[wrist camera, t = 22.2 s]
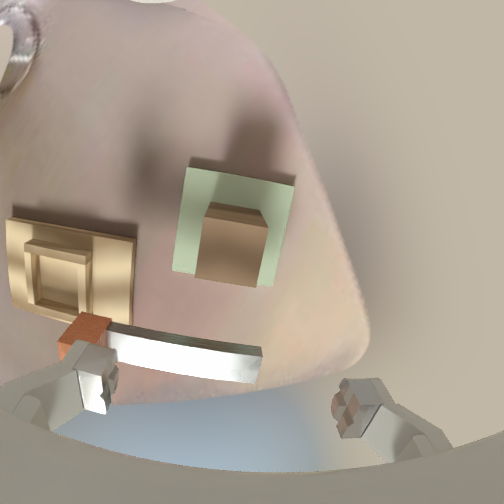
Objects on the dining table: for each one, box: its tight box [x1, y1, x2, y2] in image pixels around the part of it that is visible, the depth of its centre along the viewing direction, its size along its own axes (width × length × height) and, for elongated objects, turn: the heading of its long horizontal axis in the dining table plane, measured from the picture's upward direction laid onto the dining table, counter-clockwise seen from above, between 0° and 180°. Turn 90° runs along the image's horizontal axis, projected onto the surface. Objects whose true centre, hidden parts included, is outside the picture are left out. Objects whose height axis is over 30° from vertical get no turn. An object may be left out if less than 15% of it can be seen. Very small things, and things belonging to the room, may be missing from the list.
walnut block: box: [195, 202, 269, 288], centre depth 28 cm, size 5×5×8 cm
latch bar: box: [57, 311, 263, 383], centre depth 23 cm, size 4×16×5 cm, turn 79°
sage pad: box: [172, 167, 295, 287], centre depth 32 cm, size 11×11×1 cm
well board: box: [6, 217, 137, 326], centre depth 32 cm, size 12×18×4 cm, turn 79°
